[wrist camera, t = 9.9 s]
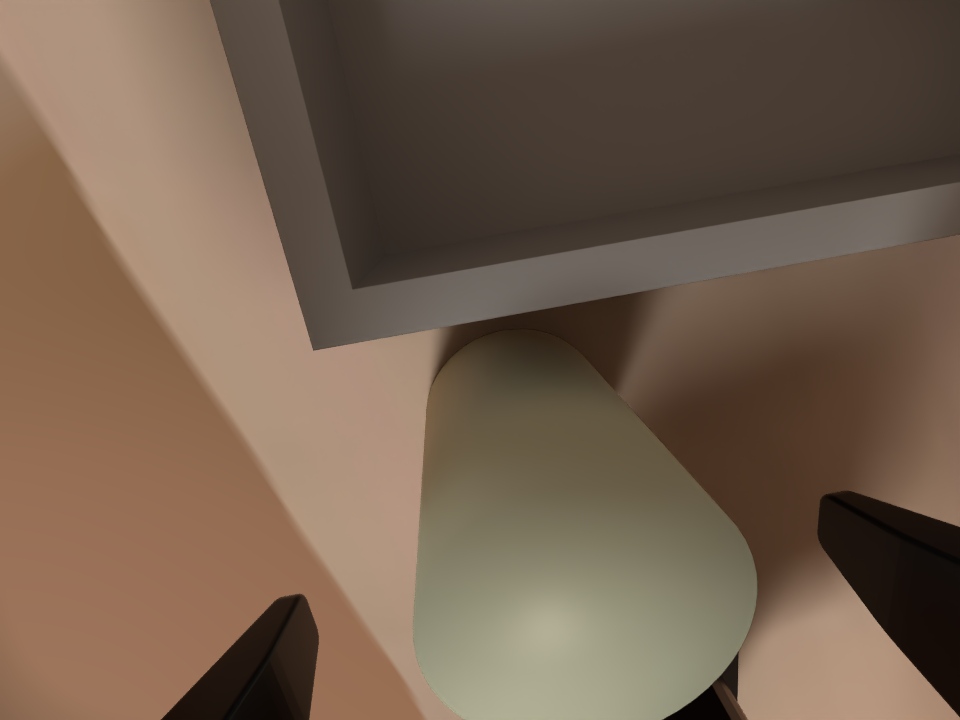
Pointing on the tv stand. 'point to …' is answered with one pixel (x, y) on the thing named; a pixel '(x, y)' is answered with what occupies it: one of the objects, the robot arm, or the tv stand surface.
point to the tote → (585, 145)
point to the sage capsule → (565, 547)
